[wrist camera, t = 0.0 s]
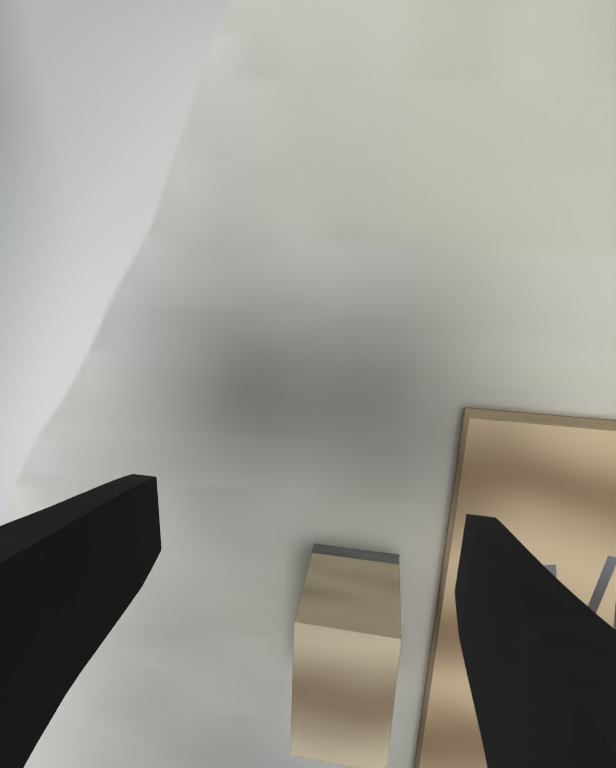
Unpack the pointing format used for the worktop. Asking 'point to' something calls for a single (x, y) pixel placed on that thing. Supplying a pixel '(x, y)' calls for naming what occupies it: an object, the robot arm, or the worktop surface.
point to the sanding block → (346, 657)
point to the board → (533, 529)
